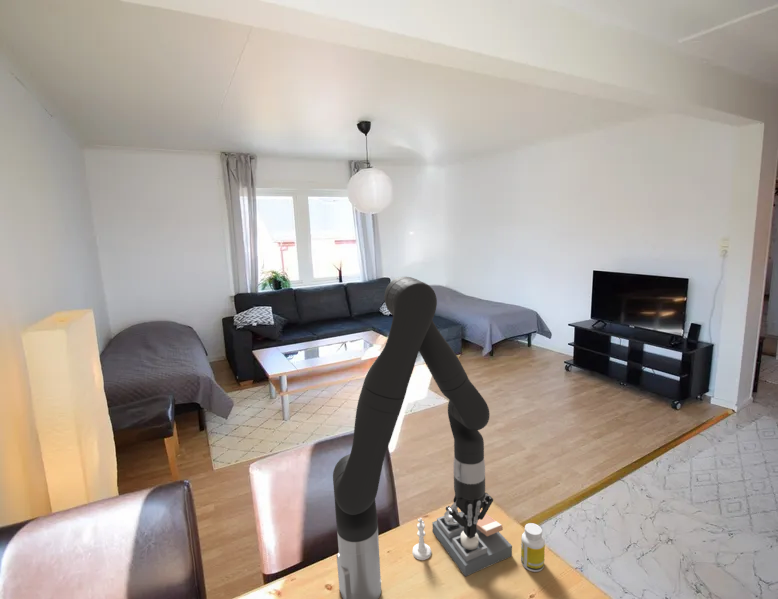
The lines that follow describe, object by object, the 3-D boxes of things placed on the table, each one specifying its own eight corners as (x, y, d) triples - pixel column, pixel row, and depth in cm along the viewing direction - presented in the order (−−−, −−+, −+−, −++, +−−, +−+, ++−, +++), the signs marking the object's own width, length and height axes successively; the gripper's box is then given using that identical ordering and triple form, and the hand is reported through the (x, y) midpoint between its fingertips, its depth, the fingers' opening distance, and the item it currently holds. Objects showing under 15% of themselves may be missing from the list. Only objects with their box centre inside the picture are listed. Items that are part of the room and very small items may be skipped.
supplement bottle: (548, 566, 99) (550, 531, 97) (533, 576, 96) (534, 540, 94) (531, 551, 103) (532, 517, 102) (516, 560, 101) (516, 526, 99)
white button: (467, 552, 99) (467, 545, 98) (457, 539, 103) (457, 532, 102) (482, 546, 100) (482, 539, 100) (471, 534, 104) (471, 527, 104)
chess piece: (424, 563, 101) (423, 528, 100) (408, 554, 104) (407, 520, 102) (434, 550, 105) (434, 516, 103) (419, 542, 108) (417, 509, 106)
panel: (465, 576, 97) (465, 560, 96) (432, 531, 112) (432, 517, 111) (511, 556, 102) (512, 540, 102) (474, 515, 117) (474, 501, 116)
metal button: (449, 530, 106) (449, 523, 105) (441, 519, 110) (441, 513, 109) (464, 524, 107) (463, 518, 107) (455, 514, 111) (455, 508, 111)
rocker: (486, 536, 102) (486, 531, 102) (465, 518, 111) (464, 513, 111) (502, 529, 104) (502, 524, 104) (480, 513, 113) (479, 508, 113)
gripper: (454, 490, 92) (455, 555, 95) (501, 473, 97) (501, 536, 100) (437, 472, 99) (439, 534, 102) (482, 457, 104) (483, 517, 107)
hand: (470, 535), depth 101 cm, fingers closed
